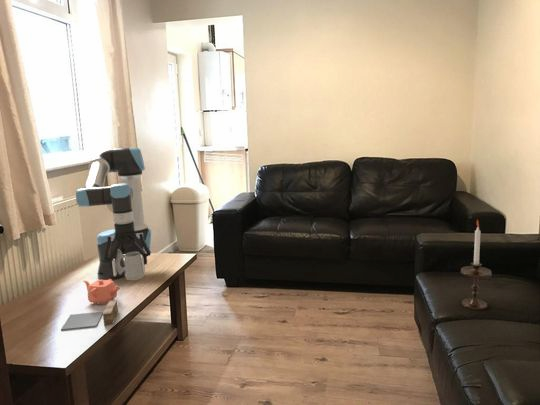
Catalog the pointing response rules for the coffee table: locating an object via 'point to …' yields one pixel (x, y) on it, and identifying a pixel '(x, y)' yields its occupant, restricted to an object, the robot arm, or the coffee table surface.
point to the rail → (110, 313)
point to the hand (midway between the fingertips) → (129, 273)
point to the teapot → (101, 291)
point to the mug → (130, 265)
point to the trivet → (82, 321)
